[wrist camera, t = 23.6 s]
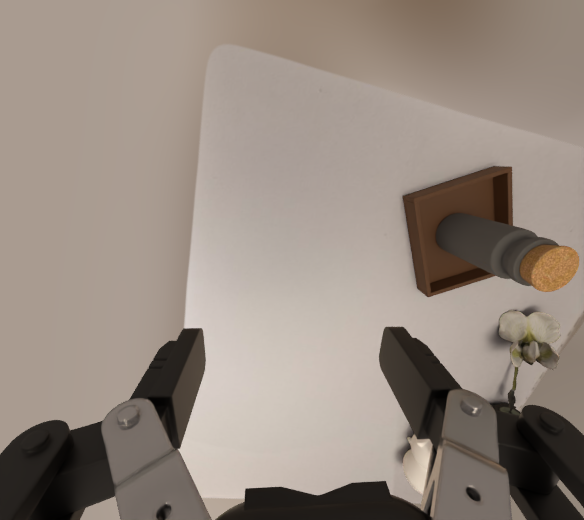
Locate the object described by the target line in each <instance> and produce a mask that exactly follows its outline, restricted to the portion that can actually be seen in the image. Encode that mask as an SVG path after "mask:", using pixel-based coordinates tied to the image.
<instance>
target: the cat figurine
mask: <svg viewBox="0 0 584 520" xmlns="http://www.w3.org/2000/svg"><path fill="white" fill-rule="evenodd" d="M407 440H408V442H409V443H410V445H411V449H410V450H408V451H407V452H406V454H405V456H404V458H403V470H404V473H405V476H406V478H407V480H408V482H409V483H410V485H411V486H412V487H413V488H414V489H415V490H416V491H418V492H419V493H421V494H423V491H424V486H425V480H426V475H427V469H428V463H429V458H430V452H431V448H432V445H433V444H432V443H431V441H430V439H417V438H416V436H415V434H414V435H413V437H412V438H410V437H407Z"/></svg>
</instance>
